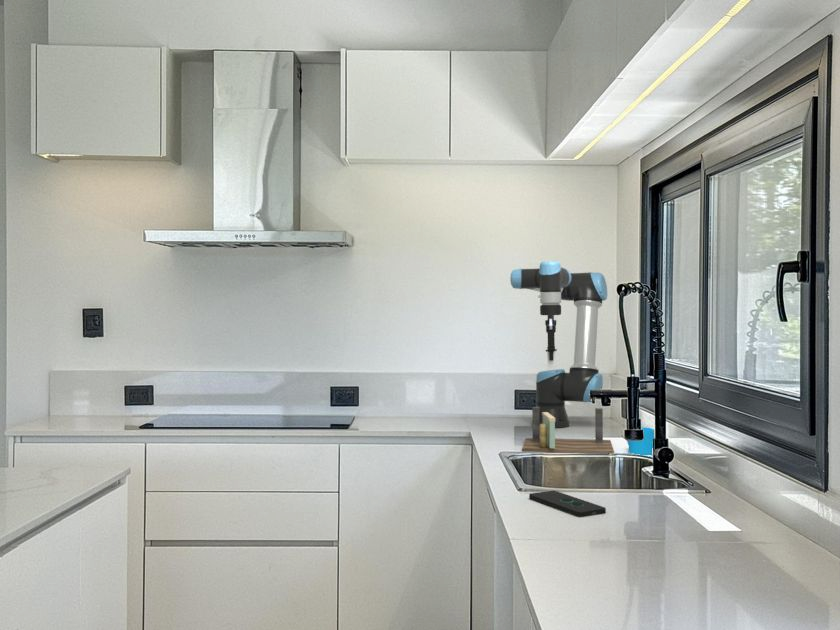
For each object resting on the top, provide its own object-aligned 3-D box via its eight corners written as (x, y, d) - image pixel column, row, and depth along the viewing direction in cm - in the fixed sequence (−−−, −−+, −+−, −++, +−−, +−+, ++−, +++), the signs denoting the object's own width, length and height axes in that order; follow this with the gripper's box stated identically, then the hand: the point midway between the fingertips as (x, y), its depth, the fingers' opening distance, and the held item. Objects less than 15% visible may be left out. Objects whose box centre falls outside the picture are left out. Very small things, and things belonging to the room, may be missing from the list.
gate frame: (525, 440, 275) (525, 404, 275) (610, 442, 269) (610, 406, 269) (522, 451, 252) (521, 412, 252) (614, 454, 246) (613, 414, 247)
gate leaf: (547, 439, 267) (546, 411, 267) (555, 448, 249) (555, 418, 249) (541, 439, 267) (541, 411, 267) (549, 448, 249) (549, 418, 249)
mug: (659, 455, 245) (659, 430, 245) (638, 456, 242) (638, 431, 242) (637, 449, 256) (637, 425, 256) (617, 450, 254) (617, 426, 254)
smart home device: (578, 511, 169) (527, 493, 187) (578, 519, 169) (527, 500, 187) (607, 507, 173) (554, 489, 191) (607, 514, 173) (554, 496, 191)
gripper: (540, 304, 278) (541, 367, 279) (539, 304, 265) (540, 371, 266) (560, 303, 277) (561, 367, 277) (561, 304, 264) (562, 371, 265)
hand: (551, 369), depth 272 cm, fingers closed
